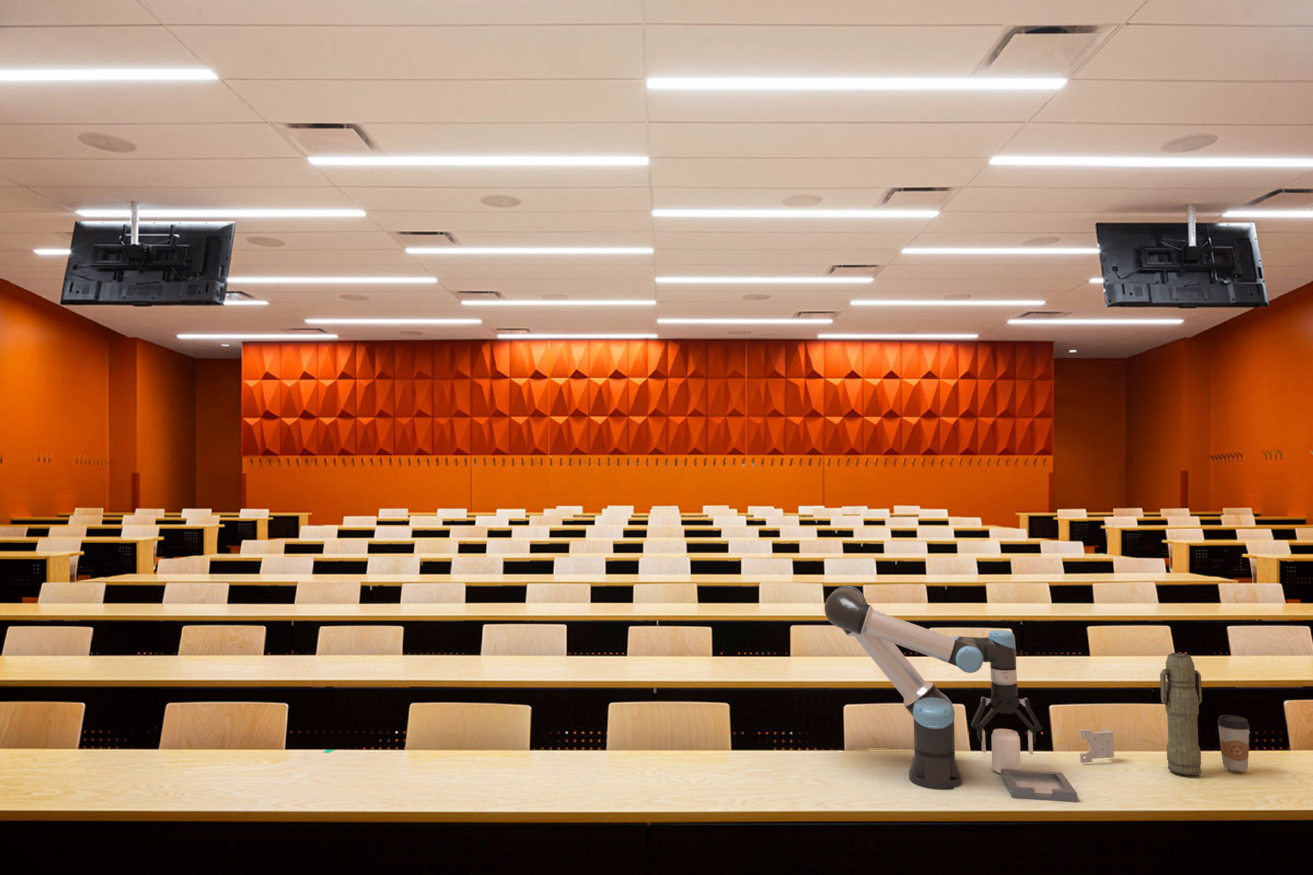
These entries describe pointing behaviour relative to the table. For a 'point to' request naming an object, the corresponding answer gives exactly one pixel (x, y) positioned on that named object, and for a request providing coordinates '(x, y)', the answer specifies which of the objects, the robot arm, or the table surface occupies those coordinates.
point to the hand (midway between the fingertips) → (1007, 752)
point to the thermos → (1182, 713)
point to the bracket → (1097, 745)
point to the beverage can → (1005, 750)
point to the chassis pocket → (1038, 785)
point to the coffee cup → (1234, 741)
